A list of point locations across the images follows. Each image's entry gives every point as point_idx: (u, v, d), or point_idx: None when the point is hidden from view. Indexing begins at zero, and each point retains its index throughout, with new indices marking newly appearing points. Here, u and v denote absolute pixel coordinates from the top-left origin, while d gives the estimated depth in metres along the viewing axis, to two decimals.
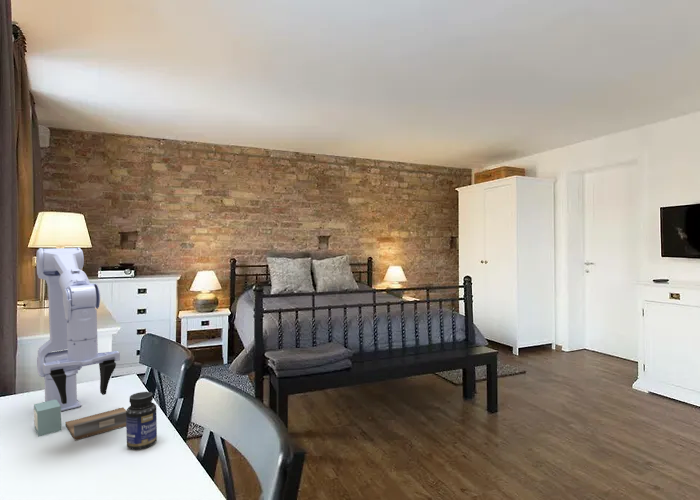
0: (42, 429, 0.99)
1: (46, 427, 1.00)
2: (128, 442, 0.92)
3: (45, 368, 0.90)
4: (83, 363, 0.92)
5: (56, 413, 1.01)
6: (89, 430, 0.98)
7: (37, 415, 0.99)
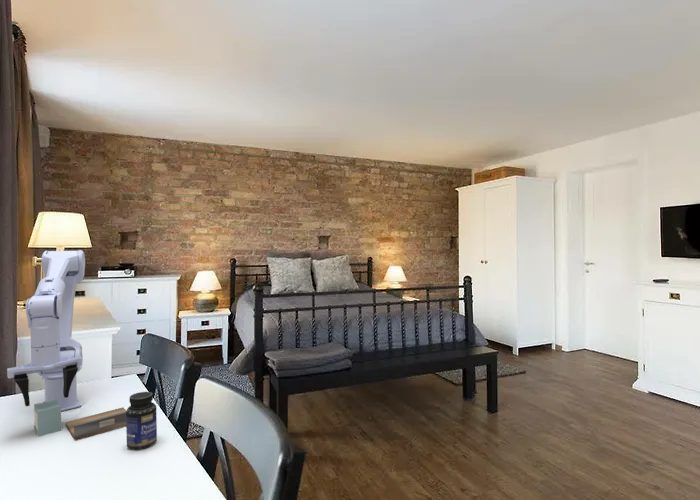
0: (42, 429, 0.99)
1: (46, 427, 1.00)
2: (128, 442, 0.92)
3: (9, 373, 0.96)
4: (45, 368, 0.99)
5: (56, 413, 1.01)
6: (89, 430, 0.98)
7: (37, 415, 0.99)
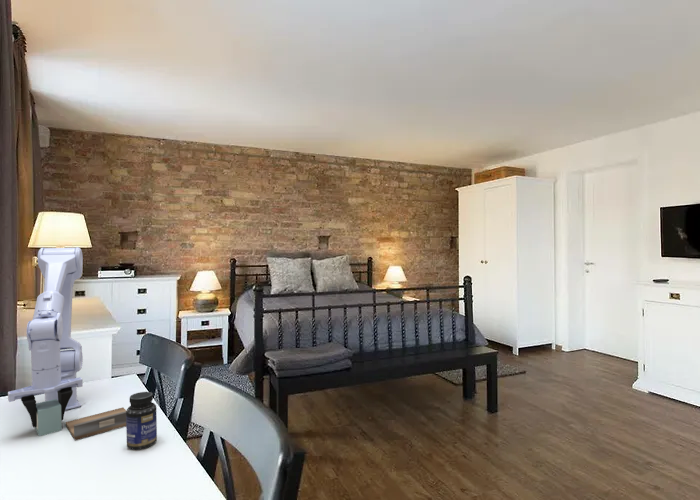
0: (42, 429, 0.99)
1: (46, 427, 1.00)
2: (128, 442, 0.92)
3: (9, 396, 0.97)
4: (45, 391, 0.99)
5: (56, 412, 1.01)
6: (89, 430, 0.98)
7: (37, 414, 0.99)
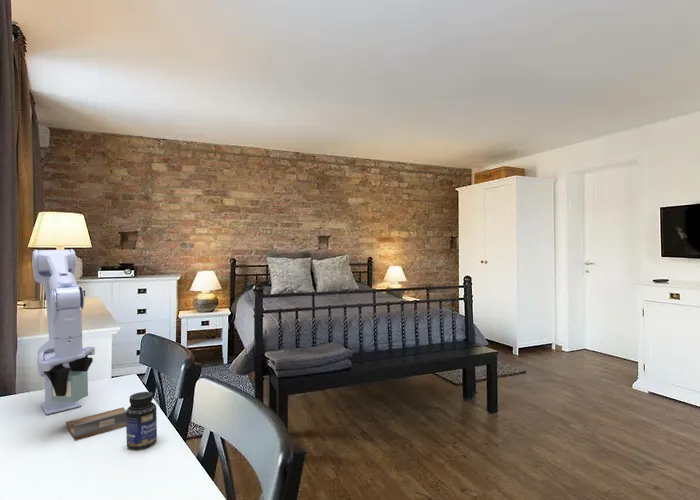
0: (76, 395, 1.01)
1: (78, 393, 1.02)
2: (128, 442, 0.92)
3: (47, 366, 0.96)
4: (80, 357, 1.02)
5: (84, 378, 1.04)
6: (89, 430, 0.98)
7: (70, 381, 1.01)
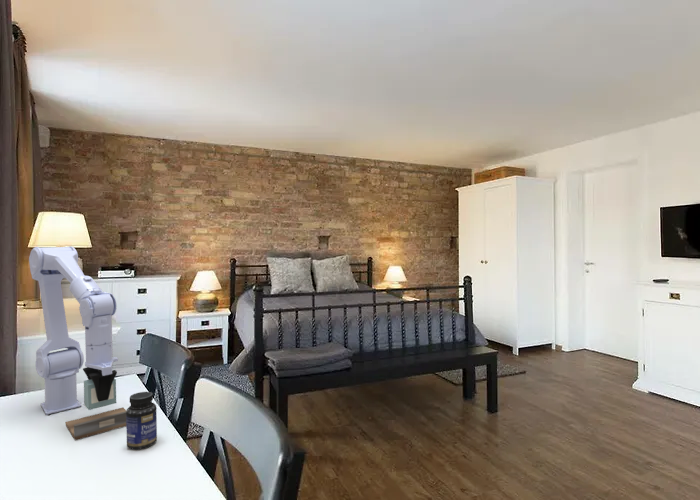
0: None
1: None
2: (128, 442, 0.92)
3: (111, 368, 1.00)
4: (117, 359, 1.07)
5: None
6: (89, 430, 0.98)
7: (113, 384, 1.05)
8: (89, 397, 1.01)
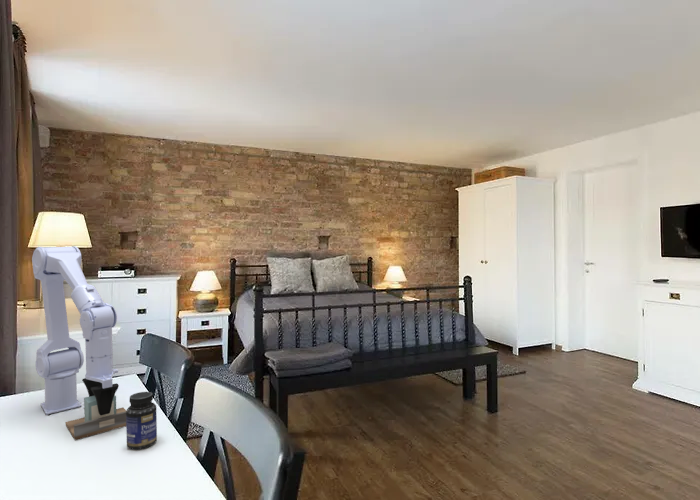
0: None
1: None
2: (128, 442, 0.92)
3: None
4: None
5: None
6: (89, 430, 0.98)
7: (113, 401, 1.05)
8: (89, 415, 1.01)
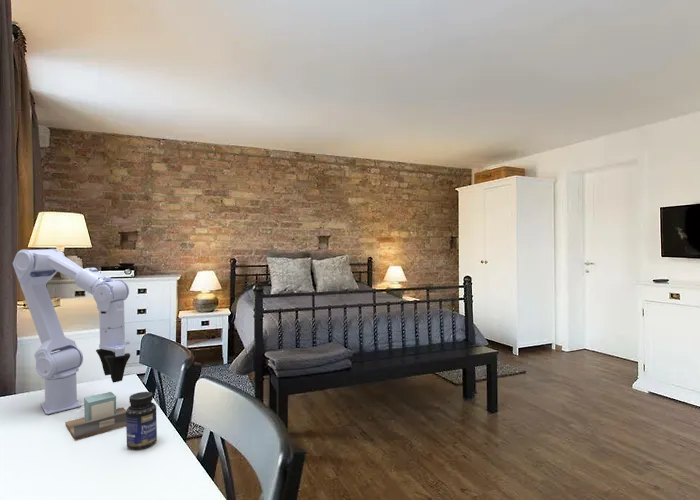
0: None
1: None
2: (128, 442, 0.92)
3: (124, 350, 1.07)
4: (129, 342, 1.13)
5: None
6: (89, 430, 0.98)
7: (113, 401, 1.05)
8: (89, 415, 1.01)
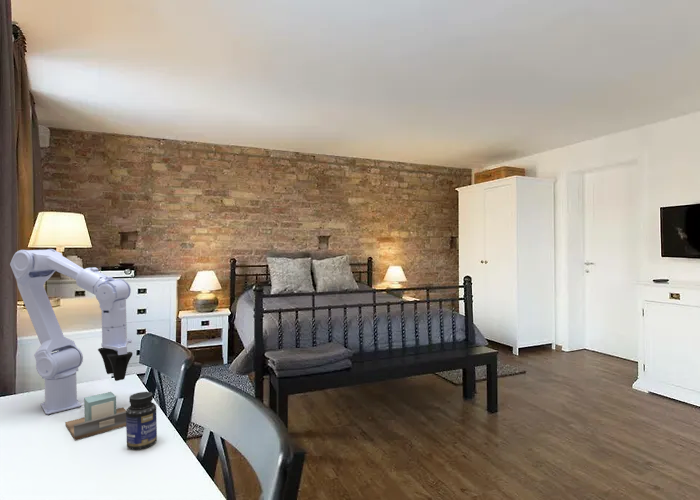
0: None
1: None
2: (128, 442, 0.92)
3: (126, 349, 1.08)
4: (131, 341, 1.14)
5: None
6: (89, 430, 0.98)
7: (113, 401, 1.05)
8: (89, 415, 1.01)
